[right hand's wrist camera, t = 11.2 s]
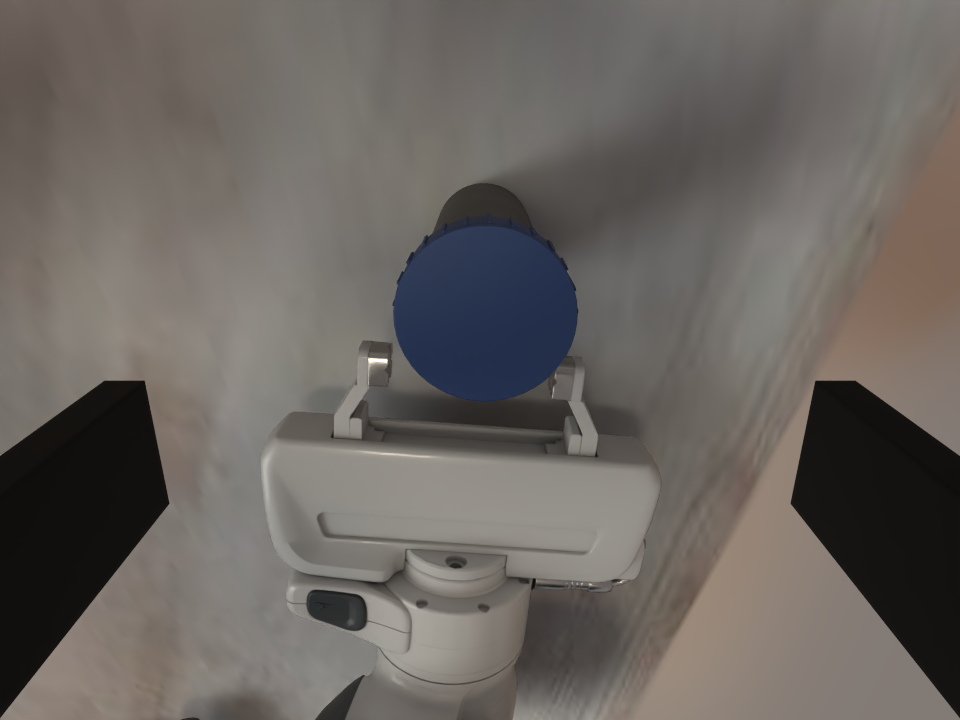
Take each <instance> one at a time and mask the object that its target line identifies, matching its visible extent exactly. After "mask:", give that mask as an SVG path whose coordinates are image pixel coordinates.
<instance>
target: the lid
mask: <svg viewBox="0 0 960 720" xmlns="http://www.w3.org/2000/svg"><path fill="white" fill-rule="evenodd" d="M406 263H407V267H406V269H405V271H404V272H403V271H402V272H401V275H400V277H399V279H398V281H397V284H398V288H397V291H396V296H395V299H394V302H393V306H394V311H393V313H394V327H395V331H396V336H397V339H398V342H399V345H400V347H401V349H402V351H403V353H404V355H405V357H406V358H407V360H408V361H409V363H410V364H411V366H412V367H413V368H414V369H415V370H416V371H417V373H418V374H419V375H421V376H422V377H423V378H424V379H425V380H426V381H427V382H429V383H430V384H432V385H433V386H435V387H436V388H438V389H440V390H442V391H444V392H445V393H448V394H450V395H453V396H456V397H459V398H463V399H467V400H475V401H496V400H503V399H507V398H511V397H515V396H517V395H520V394H523V393H525V392H527V391H529V390H531V389H533V388H535V387H536V386H537V385H539V384H540V383H542V382H543V381H545V380H546V379H547V378H548V377H549V376H550V375H551V374H552V373H553V372H554V371H555V370H556V369H557V368H558V366H559V365H560V364H561V362H562V361H563V359H564V358H565V356H566V355H567V353H568V351H569V349H570V347H571V344H572V341H573V338H574V335H575V331H576V326H577V313H578V309H577V300H576V295H575V291H576V288H575V286H574V284H573V282H572V280H571V278H570V277H569V275H568V273H567V271H566V270H568V267H567V265H566V264H565V262H564V260H563V258H559V256H558V255H557V253H556V252H555V249H554V247H553V245H552V243H551V242H550V241H549V240H548V241H546V240H545V239H544V238H543V237H542V236H540V235H539V234H538V233H536V232H535V229H534V227H532V226H531V227H530V228H529V227H527V226H525V225H523V224H521V223H518V222H516V221H514V219H513V218H512V217H510V219H506V218H502V217H495V216H491V214H487V216H476V217H469V218H468V215H466V216H464V219H461V220H457V221H455V222H452V223H450V224H448V225H447V224H446V223H444V224H443V226H442V228H440V229H439V230H437V231H435V232H434V233H433V234H432V235H430V236H429V237H428V236H427V235H426V236H425V237H424V240H423V242H422V244H421V245H420V246H419V247H418V248H417V250H416V251H415V253H413V252H411V254H410V256H409V258H408V260H407V262H406Z"/></svg>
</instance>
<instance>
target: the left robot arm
mask: <svg viewBox="0 0 960 720" xmlns="http://www.w3.org/2000/svg"><path fill="white" fill-rule="evenodd" d="M392 353H393V344H392V343H385V342H375V341H362V343H361V345H360V347H359V353H358V371H357V377H356V379H355V380H354V382H353V383H352V385H351V386H350V388H349V389H348V391H347V392H346V393H345V395H344V396H343V398H342V400H341V402H340V404H339V406H338V408H337V410H336V413H335V414H321V413H308V412H292V413H290V414H288V415H287V416H286V417H285V418H284V419H283V420H282V421H281V422H280V423H279V424H278V425H277V426H276V427H275V428H274V429H273V431H272V432H271V434H270V435H269V437H268V439H267V441H266V442H265V445H264V447H263V450H262V453H261V460H260V461H261V482H262V492H263V499H264V506H265V512H266V518H267V523H268V527H269V532H270V536H271V540H272V543H273V545H274V548H275V550H276V552H277V553H278V555H279V556H280V558H281V559H282V560H283V561H284V562H285V563H286V564H287V565H289V566H290V567H292V570H291V573H290V577H289V582H288V587H287V593H286V601H287V606H288V608H289V610H290V611H291V612H293V613H294V614H296V615H297V616H300V617H302V618H305V619H308V620H311V621H315V622H318V623H321V624H324V625H327V626H330V627H333V628H336V629H339V630H341V631H344V632H347V633H349V634H352V635H354V636H357V637H359V638H361V639H364V640H366V641H368V642H370V643H372V644H374V645H376V646H377V659H376V662H375V666H374V669H373V671H372V673H371V674H370V675H369V676H365V675H363V676H361V677H359V678H358V679H356V680H355V681H353V682H352V683H351V684H350V685H348V686H347V687H346V688H345V689H344V690H343V691H342V692H341V693H340V694H339V695H338V696H337V697H336V698H335V699H334V700H332V701H331V702H330V703H329V704H328V705H327V706H326V707H325V708H324V709H323V710H322V712H321V713H320V714H319V715H318V717H317V718H316V719H315V720H512V719H513V714H514V708H515V702H516V695H517V677H516V671H515V667H514V665H515V663H516V661H517V659H518V657H519V655H520V653H521V650H522V647H523V643H524V637H525V631H526V624H527V617H528V610H529V603H530V593H531V590H533V588H534V589H547V590H574V589H575V590H579V589H580V590H587V591H588V592H593V593H604V592H610V591H611V589H612V586H619V585H622V584H624V583H627V582H628V581H630V580H633V579H635V578H636V577H637V576H638V574H639V572H640V570H641V566H642V561H643V556H644V552H645V536H646V534H647V531H648V529H649V526H650V523H651V520H652V518H653V515H654V512H655V508H656V505H657V502H658V498H659V495H660V491H661V484H662V483H661V476H660V472H659V469H658V467H657V465H656V463H655V461H654V459H653V457H652V456H651V454H650V452H649V451H648V450H647V448H646V447H645V446H644V444H643V443H642V442H641V441H640V440H639V439H638V438H636V437H631V436H619V435H605V434H598V433H597V430H596V428H595V425H594V422H593V419H592V417H591V414H590V412H589V410H588V408H587V406H586V403H585V401H584V399H583V397H582V392H583V386H584V379H585V364H584V362H583V359H582V357H571V356H565V358H564V359H563V361H562V362H561V364H560V365H559V366H558V368H557V369H556V370H555V371H554V372H553V373H552V374H551V375H550V376H549V382H548V386H549V390H550V391H551V392H550V394H551V398H552V399H556V400H566V401H568V403H569V405H570V407H571V409H572V412H573V414H574V416H567V417H565V423H564V430H563V431H551V430H537V429H524V428H510V427H497V426H483V425H470V424H456V423H443V422H429V421H416V420H402V419H389V418H375V417H368V402H367V401H365V400H362V398H363V397H364V395H365V394H366V392H367V391H368V389H369V388H370V386H385V387H387V386H388V383H389V378H390V377H391V373H392V360H391V356H392Z"/></svg>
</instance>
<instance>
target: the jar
mask: <svg viewBox="0 0 960 720" xmlns="http://www.w3.org/2000/svg"><path fill="white" fill-rule="evenodd" d="M487 214H491V216H495V217H502V218H506V219H510V217H512V218H513V219H514V221H516V222H518V223H521V224H523V225H525V226H527V227H529V228H530V227H531V226H532V224H531V222H530V219H529V217H528V215H527V213H526V210H525V209H524V207H523V205H522V204H521V202H520V201H519V200H518V198H517V197H516V196H515V195H513V194H512V193H511V192H510V191H508V190H506V189H505V188H502V187H500V186H497V185H493V184H474V185H470V186H467V187H465V188H463V189H461V190H459V191H458V192H456V193H455V194H454V195H452V196H451V198H450V199H449V200H448V201H447V202H446V204H445V205H444V207H443V209H442V210H441V213H440V216H439V218H438V221H437V223H436V226H435V229H434V231H433V233H434V232H435V231H437V230H439V229H440V228H442V226H443V224H444V223H446V224H447V225H448V224H450V223H452V222H455V221H457V220H461V219H464V216H466V215H468V218H469V217H476V216H487ZM532 227H533V226H532Z"/></svg>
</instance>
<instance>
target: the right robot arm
mask: <svg viewBox="0 0 960 720" xmlns="http://www.w3.org/2000/svg"><path fill="white" fill-rule="evenodd" d="M168 505H169V499H168V494H167V489H166V484H165V480H164V475H163V470H162V465H161V460H160V455H159V450H158V445H157V440H156V435H155V430H154V425H153V420H152V415H151V410H150V405H149V400H148V395H147V390H146V385H145V381H104V382H102V383H101V384H99V385H98V386H97V387H95V388H94V389H92V390H91V391H90V392H88V393H87V394H86V395H84V396H83V397H81V398H80V399H79V400H77V401H76V402H74V403H73V404H72V405H70V406H69V407H68V408H66V409H65V410H63V411H62V412H61V413H59V414H58V415H56V416H55V417H54V418H52V419H51V420H49V421H48V422H47V423H45V424H44V425H43V426H41V427H40V428H38V429H37V430H36V431H34V432H33V433H31V434H30V435H29V436H27V437H26V438H25V439H23V440H22V441H20V442H19V443H18V444H16V445H15V446H13V447H12V448H11V449H9V450H8V451H7V452H5V453H4V454H2V455H1V456H0V718H1V716H2V715H3V714H4V712H5V711H6V710H7V709H8V707H9V706H10V705H11V704H12V702H13V701H14V700H15V699H16V697H17V696H18V695H19V693H20V692H21V691H22V690H23V688H24V687H25V686H26V685H27V683H28V682H29V681H30V680H31V678H32V677H33V676H34V674H35V673H36V672H37V671H38V669H39V668H40V667H41V666H42V664H43V663H44V662H45V660H46V659H47V658H48V657H49V655H50V654H51V653H52V652H53V650H54V649H55V648H56V647H57V645H58V644H59V643H60V641H61V640H62V639H63V638H64V636H65V635H66V634H67V633H68V631H69V630H70V629H71V628H72V626H73V625H74V624H75V622H76V621H77V620H78V619H79V617H80V616H81V615H82V614H83V612H84V611H85V610H86V609H87V607H88V606H89V605H90V603H91V602H92V601H93V600H94V598H95V597H96V596H97V595H98V593H99V592H100V591H101V590H102V588H103V587H104V586H105V584H106V583H107V582H108V581H109V579H110V578H111V577H112V576H113V574H114V573H115V572H116V571H117V569H118V568H119V567H120V565H121V564H122V563H123V562H124V560H125V559H126V558H127V557H128V555H129V554H130V553H131V552H132V550H133V549H134V548H135V546H136V545H137V544H138V543H139V541H140V540H141V539H142V538H143V536H144V535H145V534H146V533H147V531H148V530H149V529H150V527H151V526H152V525H153V524H154V522H155V521H156V520H157V519H158V517H159V516H160V515H161V514H162V512H163V511H164V510H165V508H166V507H167V506H168ZM791 505H792V506H793V507H794V508H795V510H796V511H797V512H798V514H799V515H800V516H801V517H802V519H803V520H804V521H805V522H806V524H807V525H808V526H809V527H810V529H811V530H812V531H813V533H814V534H815V535H816V536H817V538H818V539H819V540H820V541H821V543H822V544H823V545H824V546H825V548H826V549H827V550H828V552H829V553H830V554H831V555H832V557H833V558H834V559H835V560H836V562H837V563H838V564H839V565H840V567H841V568H842V569H843V571H844V572H845V573H846V574H847V576H848V577H849V578H850V579H851V581H852V582H853V583H854V584H855V586H856V587H857V588H858V590H859V591H860V592H861V593H862V595H863V596H864V597H865V598H866V600H867V601H868V602H869V603H870V605H871V606H872V607H873V609H874V610H875V611H876V612H877V614H878V615H879V616H880V617H881V619H882V620H883V621H884V623H885V624H886V625H887V626H888V628H889V629H890V630H891V631H892V633H893V634H894V635H895V636H896V638H897V639H898V640H899V641H900V643H901V644H902V645H903V647H904V648H905V649H906V650H907V652H908V653H909V654H910V655H911V657H912V658H913V659H914V661H915V662H916V663H917V664H918V666H919V667H920V668H921V669H922V671H923V672H924V673H925V674H926V676H927V677H928V678H929V679H930V681H931V682H932V683H933V684H934V686H935V687H936V688H937V690H938V691H939V692H940V693H941V695H942V696H943V697H944V699H945V700H946V701H947V702H948V704H949V705H950V706H951V707H952V709H953V710H954V711H955V712H956V714H957V715H958V716H959V718H960V456H959V455H958V454H956V453H955V452H953V451H952V450H951V449H949V448H948V447H947V446H945V445H944V444H942V443H941V442H940V441H938V440H937V439H935V438H934V437H933V436H931V435H930V434H928V433H927V432H926V431H924V430H923V429H922V428H920V427H919V426H917V425H916V424H915V423H913V422H912V421H911V420H909V419H908V418H906V417H905V416H904V415H902V414H901V413H899V412H898V411H897V410H895V409H894V408H892V407H891V406H890V405H888V404H887V403H886V402H884V401H883V400H881V399H880V398H879V397H877V396H876V395H874V394H873V393H872V392H870V391H869V390H868V389H866V388H865V387H863V386H862V385H861V384H859V383H858V382H856V381H815V385H814V390H813V396H812V400H811V405H810V410H809V415H808V420H807V425H806V430H805V435H804V440H803V445H802V450H801V455H800V460H799V465H798V470H797V475H796V479H795V484H794V489H793V494H792V499H791Z"/></svg>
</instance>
